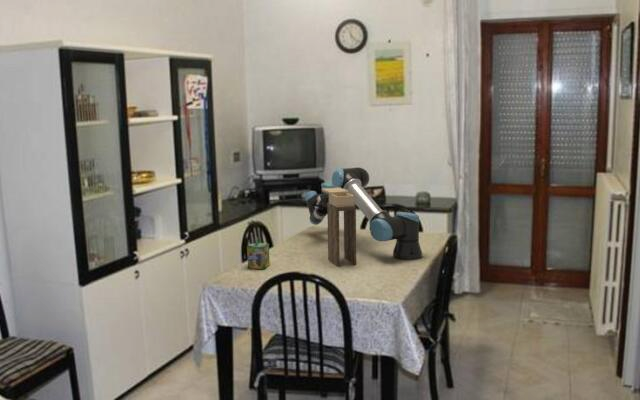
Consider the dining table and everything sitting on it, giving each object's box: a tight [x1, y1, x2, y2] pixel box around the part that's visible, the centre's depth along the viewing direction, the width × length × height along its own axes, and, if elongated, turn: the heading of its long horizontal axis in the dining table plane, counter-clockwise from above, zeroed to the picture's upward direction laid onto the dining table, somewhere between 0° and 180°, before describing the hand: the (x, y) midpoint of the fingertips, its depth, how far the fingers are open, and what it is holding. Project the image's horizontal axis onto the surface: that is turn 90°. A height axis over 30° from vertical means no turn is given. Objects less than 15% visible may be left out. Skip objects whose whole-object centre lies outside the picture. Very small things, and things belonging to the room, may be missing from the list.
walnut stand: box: [327, 203, 357, 268], centre depth 319 cm, size 15×10×30 cm, turn 17°
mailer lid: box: [320, 182, 349, 194], centre depth 330 cm, size 24×10×2 cm, turn 17°
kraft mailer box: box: [329, 193, 355, 207], centre depth 317 cm, size 13×9×5 cm
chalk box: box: [246, 237, 271, 270], centre depth 315 cm, size 9×9×15 cm
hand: (331, 197), depth 350 cm, fingers open, 13 cm apart
